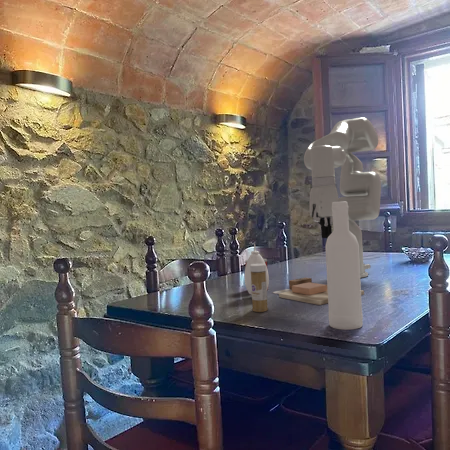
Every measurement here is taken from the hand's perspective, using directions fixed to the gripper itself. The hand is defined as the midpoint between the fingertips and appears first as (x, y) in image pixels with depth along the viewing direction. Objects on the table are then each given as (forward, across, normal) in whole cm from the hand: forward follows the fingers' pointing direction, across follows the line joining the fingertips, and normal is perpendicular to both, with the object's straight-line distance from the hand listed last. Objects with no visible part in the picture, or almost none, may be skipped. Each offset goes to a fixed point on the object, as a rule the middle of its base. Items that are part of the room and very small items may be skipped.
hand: (326, 237), depth 152 cm
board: (+18, +8, +3) cm, 20 cm away
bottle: (+17, +30, +32) cm, 47 cm away
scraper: (+18, +7, -10) cm, 22 cm away
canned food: (+18, +15, -21) cm, 31 cm away
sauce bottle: (+18, +23, -11) cm, 31 cm away
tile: (+16, +6, 0) cm, 17 cm away
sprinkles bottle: (+18, +34, +4) cm, 38 cm away
